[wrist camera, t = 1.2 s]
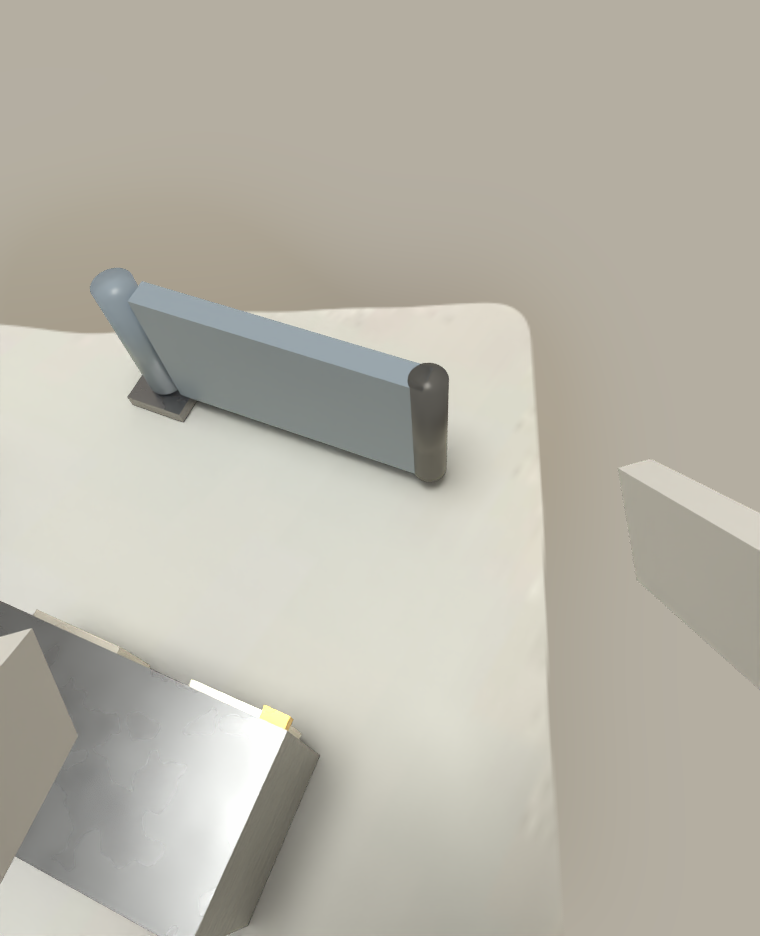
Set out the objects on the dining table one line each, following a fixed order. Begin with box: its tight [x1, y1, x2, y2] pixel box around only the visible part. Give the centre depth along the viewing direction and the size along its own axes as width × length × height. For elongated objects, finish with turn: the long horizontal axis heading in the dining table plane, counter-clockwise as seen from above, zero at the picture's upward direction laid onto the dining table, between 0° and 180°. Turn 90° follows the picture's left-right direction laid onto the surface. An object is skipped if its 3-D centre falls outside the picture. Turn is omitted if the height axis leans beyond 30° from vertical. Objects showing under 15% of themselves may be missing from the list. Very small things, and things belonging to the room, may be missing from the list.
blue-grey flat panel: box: [90, 268, 449, 482], centre depth 40 cm, size 21×2×9 cm, turn 67°
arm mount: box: [128, 375, 197, 422], centre depth 47 cm, size 4×4×1 cm
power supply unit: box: [0, 601, 320, 936], centre depth 33 cm, size 16×9×9 cm, turn 67°
